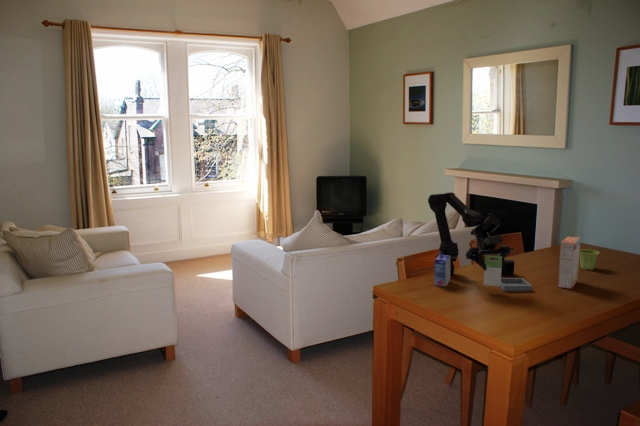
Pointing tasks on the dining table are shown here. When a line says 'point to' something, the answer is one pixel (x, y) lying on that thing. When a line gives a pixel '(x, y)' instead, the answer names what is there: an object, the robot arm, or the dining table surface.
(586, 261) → the plant pot
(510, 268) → the digital camera
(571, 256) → the cracker box
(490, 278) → the ink box
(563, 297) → the dining table surface
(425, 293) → the dining table surface
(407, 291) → the dining table surface
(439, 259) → the ink cartridge box
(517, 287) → the tray
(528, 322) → the dining table surface
